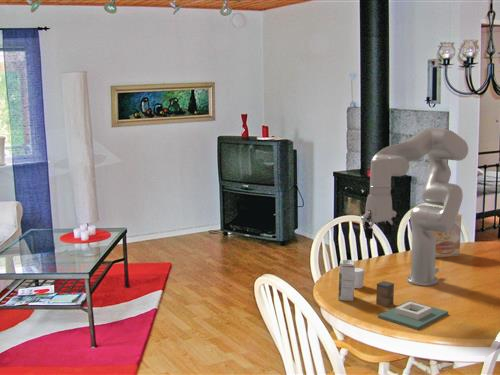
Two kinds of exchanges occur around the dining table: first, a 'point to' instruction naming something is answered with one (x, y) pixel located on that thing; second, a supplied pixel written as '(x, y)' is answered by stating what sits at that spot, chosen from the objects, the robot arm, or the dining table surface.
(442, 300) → the dining table surface
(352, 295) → the syrup box
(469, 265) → the dining table surface
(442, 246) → the coffeecake box
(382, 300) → the grey metal plug
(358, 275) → the white grey cup
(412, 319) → the socket board
